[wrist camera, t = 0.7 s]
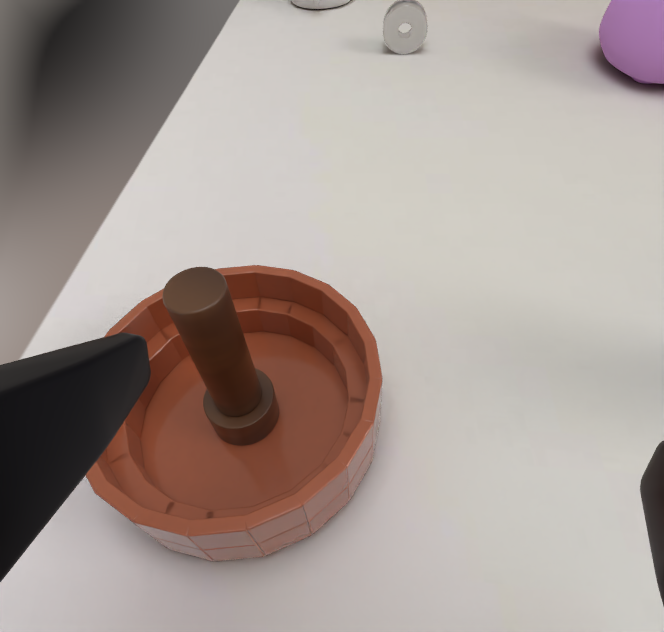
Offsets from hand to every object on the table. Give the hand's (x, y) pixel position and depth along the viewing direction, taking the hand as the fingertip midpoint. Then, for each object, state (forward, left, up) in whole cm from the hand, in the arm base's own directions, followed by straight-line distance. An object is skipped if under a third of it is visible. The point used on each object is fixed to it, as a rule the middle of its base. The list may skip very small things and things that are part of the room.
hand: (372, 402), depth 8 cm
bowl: (+3, +9, -16) cm, 19 cm away
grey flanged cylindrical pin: (+3, +9, -15) cm, 18 cm away
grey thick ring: (+51, +23, -16) cm, 59 cm away
